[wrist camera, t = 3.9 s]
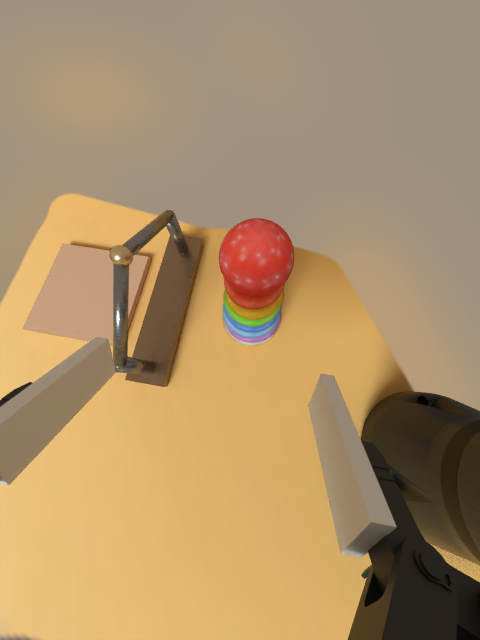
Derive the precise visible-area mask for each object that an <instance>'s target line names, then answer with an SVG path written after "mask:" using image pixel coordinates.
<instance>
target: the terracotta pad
mask: <svg viewBox="0 0 480 640" xmlns="http://www.w3.org/2000/svg"><path fill="white" fill-rule="evenodd" d="M109 253H110V251H109V250H102V249H96V248H89V247H83V246H76V245H70V244H62V246H61V248H60V250H59V252H58V255H57V257H56V259H55V261H54V263H53V265H52V267H51V269H50V271H49V274H48V276H47V278H46V280H45V282H44V284H43V286H42V288H41V291H40V293H39V295H38V297H37V299H36V301H35V303H34V305H33V308H32V310H31V312H30V314H29V316H28V318H27V320H26V322H25V325H24V327H23V329H24V330H28V331H34V332H39V333H45V334H50V335H56V336H61V337H67V338H73V339H78V340H84V341H89V342H90V341H92V340H93V339H94V338H96V337H101V338H107V339H109V344H110V345H112V346H113V262H112V261H111V259H110V256H109ZM150 263H151V259H150V258H149V257H148V256H141V255H134V256H133V261H132V263H131V264H130V265H129V297H128V330H129V327H130V324H131V321H132V318H133V314H134V311H135V308H136V305H137V302H138V299H139V296H140V293H141V290H142V287H143V284H144V281H145V278H146V275H147V272H148V269H149V266H150Z"/></svg>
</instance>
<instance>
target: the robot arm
mask: <svg viewBox="0 0 480 640" xmlns="http://www.w3.org/2000/svg"><path fill="white" fill-rule="evenodd" d="M115 373H116V371H115V367H114V362H113V357H112V353H111V348H110V344H109V339H107V338H101V337H96V338H94V339H93V340H92V341H90V342H89V343H87V344H86V345H85V346H83V347H82V348H81V349H79V350H78V351H76V352H75V353H74V354H72V355H71V356H70V357H68V358H67V359H65V360H64V361H63V362H61V363H60V364H59V365H57V366H56V367H54V368H53V369H52V370H50V371H49V372H48V373H46V374H45V375H43V376H42V377H41V378H39V379H38V380H37V381H35V382H34V383H31V382H29V383H27V384H25V385H23V386H21V387H19V388H17V389H15V390H13V391H12V392H10V393H9V394H7V395H6V396H5V397H3V398H2V400H0V484H4V485H10V484H11V483H12V482H13V480H14V479H15V478H16V477H17V476H18V475H19V474H20V473H21V472H22V471H23V470H24V469H25V468H26V467H27V466H28V465H29V464H30V463H31V461H32V460H33V459H34V458H35V457H36V456H37V455H38V454H39V453H40V452H41V451H42V450H43V449H44V448H45V447H46V446H47V445H48V444H49V442H50V441H51V440H52V439H53V438H54V437H55V436H56V435H57V434H58V433H59V432H60V431H61V430H62V429H63V428H64V427H65V426H66V424H67V423H68V422H69V421H70V420H71V419H72V418H73V417H74V416H75V415H76V414H77V413H78V412H79V411H80V410H81V409H82V408H83V407H84V405H85V404H86V403H87V402H88V401H89V400H90V399H91V398H92V397H93V396H94V395H95V394H96V393H97V392H98V391H99V390H100V389H101V388H102V386H103V385H104V384H105V383H106V382H107V381H108V380H109V379H110V378H111V377H112V376H113V375H114V374H115ZM308 406H309V411H310V415H311V420H312V425H313V429H314V434H315V438H316V443H317V447H318V452H319V457H320V461H321V466H322V470H323V475H324V479H325V484H326V489H327V493H328V498H329V502H330V507H331V512H332V516H333V521H334V525H335V530H336V534H337V539H338V544H339V548H340V553H341V554H346V555H351V556H356V557H361V558H362V557H363V556H364V555H365V554H366V553H369V556H370V559H371V563H372V565H371V566H370V567H368V568H367V569H366V570H365V571H364V572H363V574H362V575H361V576H362V577H363V578H364V579H365V578H367V579H366V582H365V586H364V589H363V592H362V595H361V599H360V602H359V605H358V608H357V611H356V615H355V618H354V621H353V624H352V627H351V631H350V634H349V637H348V640H480V582H478V581H476V580H474V579H473V578H471V577H469V576H467V575H466V574H464V573H462V572H460V571H459V570H457V569H455V568H454V567H452V566H451V565H449V564H448V563H446V561H445V560H444V558H443V557H442V556H441V555H440V554H439V552H438V551H437V550H436V549H435V548H434V547H433V546H432V545H434V546H437V547H439V548H441V549H443V550H446V551H448V552H450V553H453V554H455V555H457V556H459V557H462V558H464V559H466V560H469V561H471V562H473V563H476V564H478V565H480V411H478V410H476V409H474V408H471V407H469V406H467V405H464V404H462V403H460V402H458V401H455V400H453V399H450V398H448V397H445V396H441V395H437V394H432V393H422V392H402V393H397V394H394V395H392V396H389V397H387V398H386V399H384V400H383V401H381V402H380V403H379V404H378V405H377V406H376V407H375V408H374V409H373V410H372V412H371V413H370V415H369V416H368V418H367V420H366V423H365V426H364V429H363V433H362V440H360V437H359V435H358V433H357V430H356V428H355V425H354V423H353V421H352V418H351V416H350V413H349V411H348V408H347V406H346V404H345V401H344V399H343V396H342V394H341V392H340V389H339V387H338V384H337V382H336V380H335V377H334V376H331V375H325V374H321V375H320V377H319V380H318V383H317V385H316V388H315V390H314V393H313V395H312V398H311V400H310V403H309V405H308ZM427 542H428V543H427ZM429 543H430V544H432V545H430V544H429Z"/></svg>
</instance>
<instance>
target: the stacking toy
mask: <svg viewBox="0 0 480 640" xmlns="http://www.w3.org/2000/svg"><path fill="white" fill-rule="evenodd" d="M219 264H220V269H221V272H222V274H223V276H224V285H225V291H224V304H223V325H224V328H225V330H226V332H227V334H228V335H229V336H230V337H231V338H232V339H233V340H234V341H236V342H237V343H239V344H242V345H245V346H258V345H262V344H264V343H266V342H267V341H269V340H270V339H271V338H272V337H273V336H274V335H275V333H276V332H277V330H278V327H279V324H280V321H281V304H282V300H283V296H284V283H285V282H286V281H287V279H288V277H289V276H290V273H291V271H292V268H293V264H294V250H293V245H292V242H291V240H290V238H289V236H288V235H287V233H286V232H285V231H284V230H283V228H281V227H280V226H279V225H278V224H275V223H274V222H272V221H269V220H266V219H259V218H254V219H249V220H245V221H243V222H241V223H239V224H237V225H236V226H234V227H233V228H232V229H231V230H230V231H229V232H228V233H227V234H226V236H225V238H224V240H223V242H222V244H221V248H220V252H219Z"/></svg>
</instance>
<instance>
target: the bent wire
mask: <svg viewBox="0 0 480 640" xmlns="http://www.w3.org/2000/svg"><path fill="white" fill-rule="evenodd" d="M165 226H166V227H167V229H168V231H169V233H170V238H169V241H168V244H167V247H166V250H165V254H164V257H163V260H162V263H161V266H160V270H159V273H158V276H157V279H156V282H155V286H154V289H153V292H152V295H151V298H150V302H149V305H148V308H147V311H146V315H145V318H144V321H143V324H142V327H141V331H140V334H139V337H138V340H137V343H136V347H135V350H134V353H133V356H132V358H131V357H127V346H128V297H129V265H130V264H131V263H132V261H133V256H134V255H135V254H136V253H137V252H138V251H139V250H140V249H141V248H143V247H144V246H145V245H146V244H147V243H148V242H149V241H150V240H151V239H152V238H153V237H154V236H155V235H157V234H158V233H159V232H160V231H161V230H162V229H163V228H164V227H165ZM202 249H203V242H202V239H197V238H190V237H184V236H183V233H182V231H181V228H180V226H179V223H178V221H177V218H176V216H175V213H174V212H173V211H171V210H166V211H164V212H163V213H162V214H161V215H159V216H158V217H157V218H156V219H154V220H153V221H152V222H151V223H149V224H148V225H147V226H146V227H144V228H143V229H142V230H141V231H139V232H138V233H137V234H136V235H134V236H133V237H132V238H131V239H129V240H128V241H127V242H126V243H124V244H123V245H117V246H114V247H113V248H112V249H111V250H110V253H109V256H110V259H111V261H112V262H113V362H114V367H115V371H116V372H123V373H127V375H126V379H125V380H130V381H135V382H140V383H146V384H151V385H156V386H162V387H166V386H167V385H168V381H169V378H170V374H171V370H172V366H173V362H174V358H175V354H176V350H177V346H178V343H179V339H180V335H181V331H182V327H183V323H184V319H185V315H186V311H187V308H188V304H189V300H190V296H191V292H192V288H193V284H194V280H195V276H196V273H197V269H198V265H199V261H200V257H201V253H202Z"/></svg>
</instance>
